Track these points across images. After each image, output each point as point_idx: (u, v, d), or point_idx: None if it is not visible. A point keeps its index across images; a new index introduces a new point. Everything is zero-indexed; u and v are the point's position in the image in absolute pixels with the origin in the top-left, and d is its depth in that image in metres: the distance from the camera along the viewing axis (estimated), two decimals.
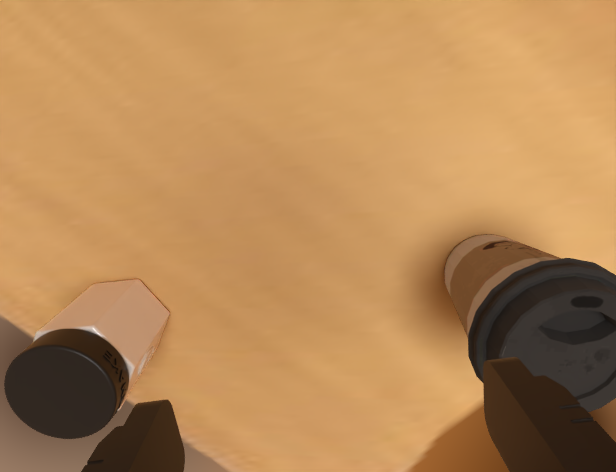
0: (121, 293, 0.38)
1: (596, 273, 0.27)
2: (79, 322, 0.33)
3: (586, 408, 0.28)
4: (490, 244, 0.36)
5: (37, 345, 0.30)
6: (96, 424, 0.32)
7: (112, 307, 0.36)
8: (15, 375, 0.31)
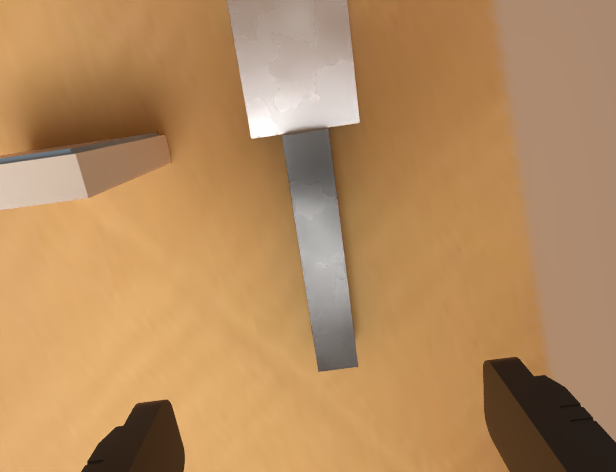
0: None
1: None
2: None
3: None
4: None
5: None
6: None
7: None
8: None
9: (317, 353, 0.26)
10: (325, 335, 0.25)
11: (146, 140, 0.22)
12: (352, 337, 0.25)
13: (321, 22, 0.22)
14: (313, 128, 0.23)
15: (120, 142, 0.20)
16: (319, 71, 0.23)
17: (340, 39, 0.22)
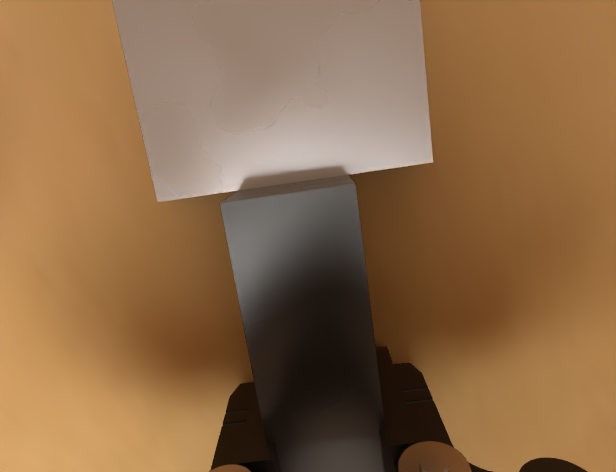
0: None
1: None
2: None
3: None
4: None
5: None
6: None
7: None
8: None
9: None
10: None
11: None
12: None
13: None
14: (313, 177, 0.09)
15: None
16: (330, 30, 0.09)
17: None
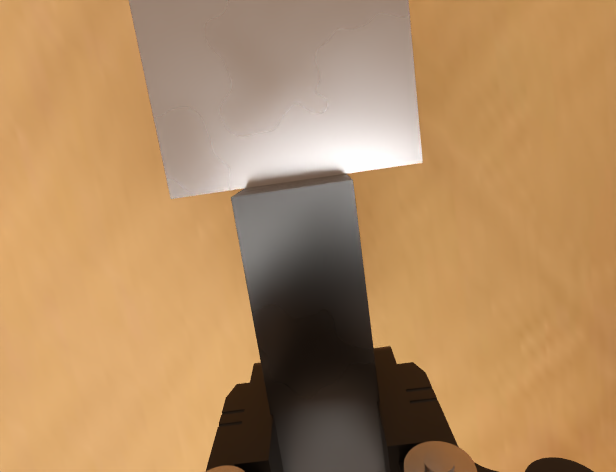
0: None
1: None
2: None
3: None
4: None
5: None
6: None
7: None
8: None
9: None
10: None
11: None
12: None
13: None
14: (314, 175, 0.10)
15: None
16: (329, 43, 0.09)
17: None
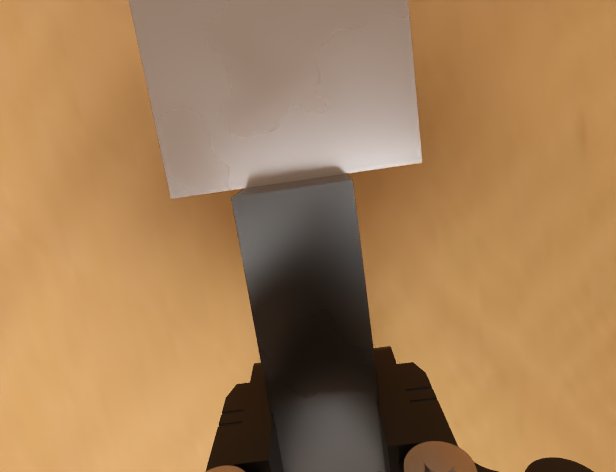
0: None
1: None
2: None
3: None
4: None
5: None
6: None
7: None
8: None
9: None
10: None
11: None
12: None
13: None
14: (314, 175, 0.10)
15: None
16: (329, 43, 0.10)
17: None
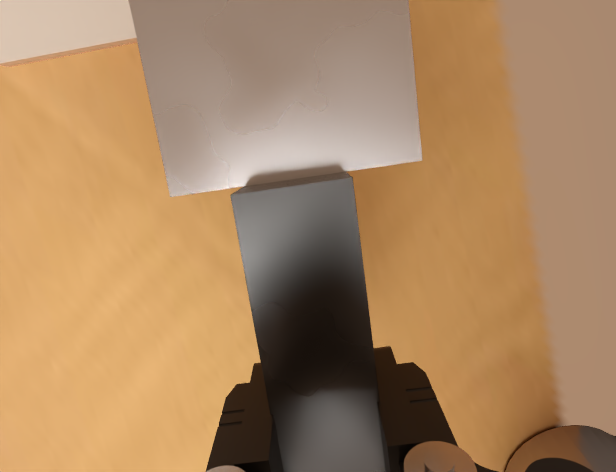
0: None
1: None
2: None
3: None
4: None
5: None
6: None
7: None
8: None
9: None
10: None
11: None
12: None
13: None
14: (314, 173, 0.10)
15: None
16: (328, 41, 0.09)
17: None
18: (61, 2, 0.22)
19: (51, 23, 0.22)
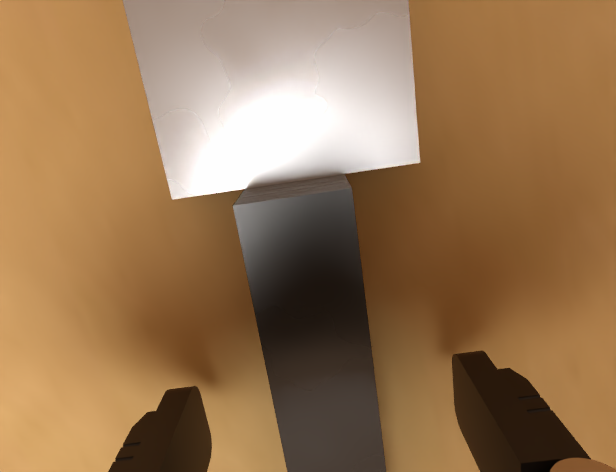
0: None
1: None
2: None
3: None
4: None
5: None
6: None
7: None
8: None
9: None
10: None
11: None
12: None
13: None
14: (313, 176, 0.10)
15: None
16: (328, 43, 0.09)
17: None
18: None
19: None
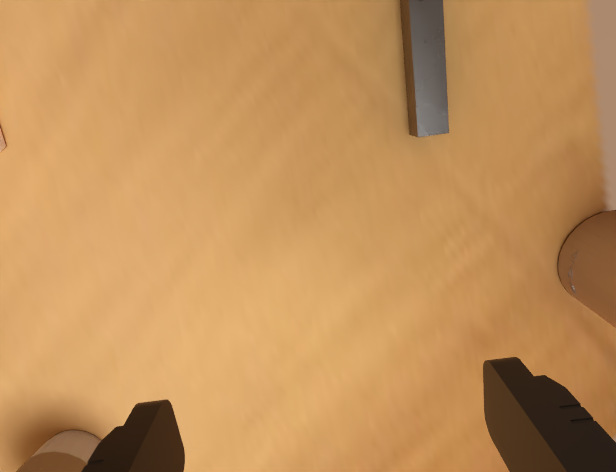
0: None
1: None
2: None
3: None
4: None
5: None
6: None
7: None
8: None
9: (418, 120, 0.33)
10: (425, 104, 0.33)
11: None
12: (446, 106, 0.33)
13: None
14: None
15: None
16: None
17: None
18: None
19: None
